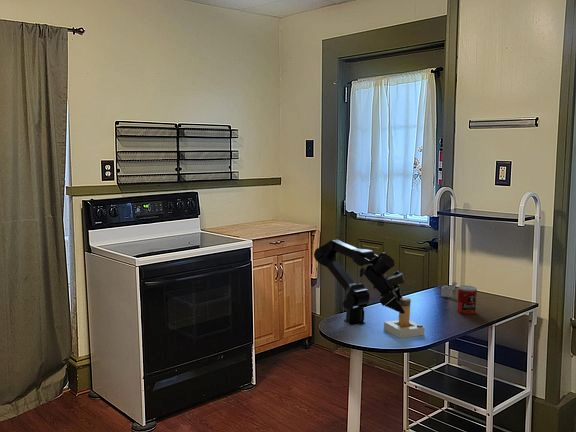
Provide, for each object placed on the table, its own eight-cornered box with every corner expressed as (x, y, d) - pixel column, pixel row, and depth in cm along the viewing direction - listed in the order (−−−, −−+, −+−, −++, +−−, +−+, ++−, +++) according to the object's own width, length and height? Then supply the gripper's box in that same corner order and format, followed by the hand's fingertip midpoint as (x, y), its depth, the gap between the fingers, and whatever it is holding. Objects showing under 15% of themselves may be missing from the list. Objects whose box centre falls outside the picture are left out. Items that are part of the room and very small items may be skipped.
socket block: (399, 338, 214) (400, 328, 214) (383, 329, 224) (384, 320, 224) (424, 335, 218) (424, 325, 218) (407, 326, 228) (407, 317, 228)
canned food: (462, 315, 246) (464, 290, 244) (453, 309, 254) (455, 285, 252) (478, 314, 247) (480, 289, 246) (469, 309, 255) (471, 285, 254)
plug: (402, 334, 219) (403, 301, 217) (396, 331, 222) (397, 298, 221) (411, 333, 220) (412, 300, 219) (404, 329, 224) (406, 297, 222)
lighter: (440, 296, 276) (441, 279, 276) (442, 295, 278) (443, 279, 277) (454, 298, 272) (456, 282, 271) (456, 298, 273) (457, 281, 272)
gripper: (390, 270, 211) (419, 303, 209) (395, 261, 229) (422, 290, 227) (368, 289, 214) (396, 321, 212) (374, 278, 232) (401, 308, 230)
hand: (404, 309), depth 220 cm, fingers open, 9 cm apart
